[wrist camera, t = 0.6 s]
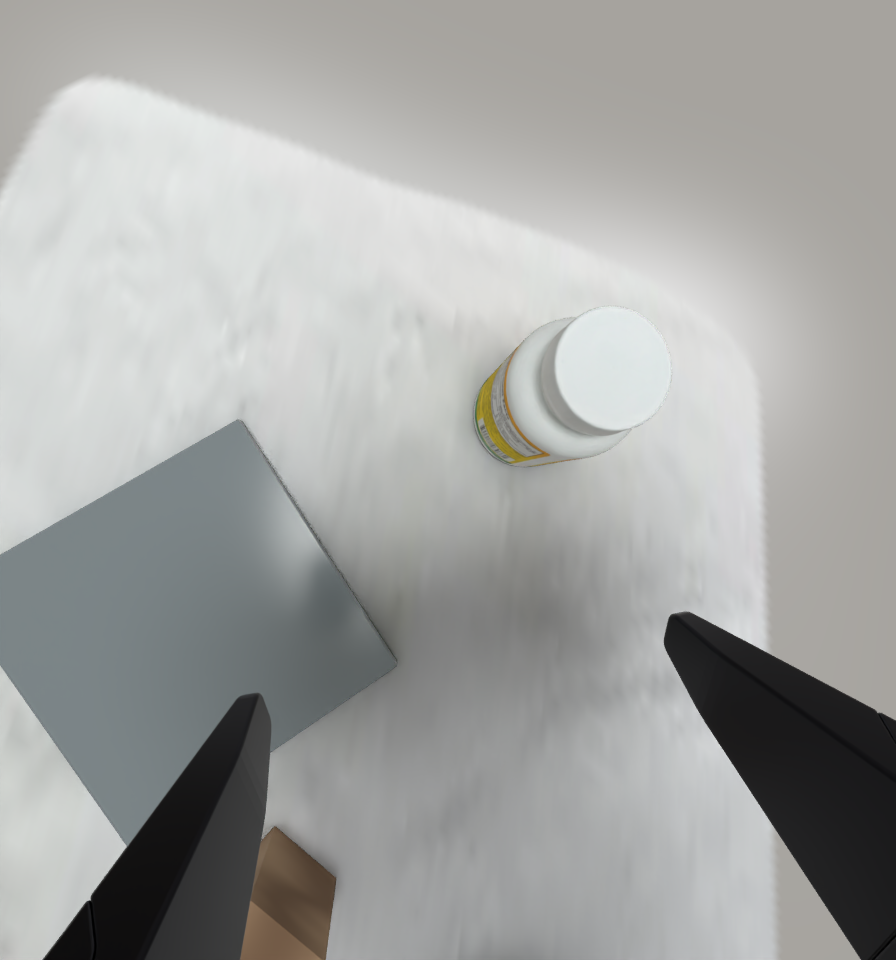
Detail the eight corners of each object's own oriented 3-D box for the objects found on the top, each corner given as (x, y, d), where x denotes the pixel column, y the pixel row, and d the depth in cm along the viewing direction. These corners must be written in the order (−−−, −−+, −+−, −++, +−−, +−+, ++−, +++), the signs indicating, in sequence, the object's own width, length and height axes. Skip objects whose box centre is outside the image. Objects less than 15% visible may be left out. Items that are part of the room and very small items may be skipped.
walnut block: (336, 876, 22) (325, 962, 18) (276, 945, 21) (251, 1048, 17) (275, 824, 22) (250, 899, 18) (213, 893, 21) (172, 986, 17)
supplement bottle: (463, 457, 23) (517, 433, 14) (481, 356, 23) (546, 263, 14) (561, 476, 24) (678, 467, 14) (578, 378, 24) (704, 305, 15)
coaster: (396, 661, 22) (397, 665, 22) (136, 838, 21) (128, 848, 20) (241, 421, 22) (238, 419, 21) (-42, 583, 20) (-55, 586, 19)
